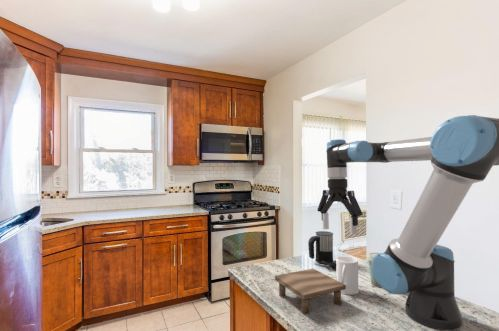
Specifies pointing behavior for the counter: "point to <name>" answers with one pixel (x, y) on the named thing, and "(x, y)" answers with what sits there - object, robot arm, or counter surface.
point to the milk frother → (322, 248)
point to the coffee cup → (373, 280)
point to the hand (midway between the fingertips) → (339, 231)
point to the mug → (348, 274)
